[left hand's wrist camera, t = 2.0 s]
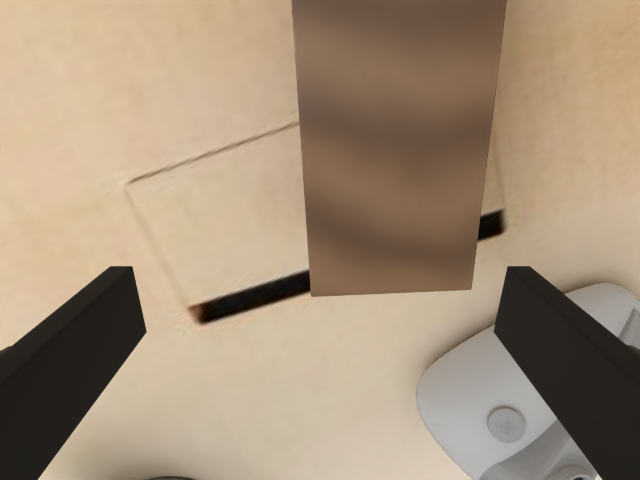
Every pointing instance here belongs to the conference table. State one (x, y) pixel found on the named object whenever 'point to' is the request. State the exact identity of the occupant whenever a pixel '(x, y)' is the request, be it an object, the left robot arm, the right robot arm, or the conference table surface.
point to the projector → (512, 401)
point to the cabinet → (394, 139)
